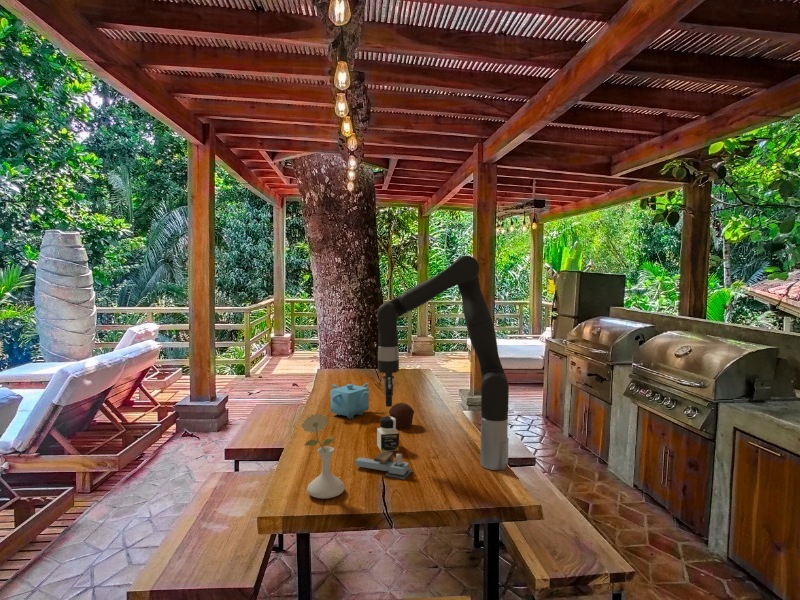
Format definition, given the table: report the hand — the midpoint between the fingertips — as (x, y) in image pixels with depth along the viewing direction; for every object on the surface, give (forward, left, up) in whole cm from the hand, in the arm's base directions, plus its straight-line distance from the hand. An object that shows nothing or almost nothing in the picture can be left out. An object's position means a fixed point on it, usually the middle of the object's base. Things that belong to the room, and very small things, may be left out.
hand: (388, 406), depth 167 cm
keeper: (-2, +8, -20) cm, 22 cm away
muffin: (+10, -37, -20) cm, 43 cm away
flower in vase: (+8, +31, -20) cm, 38 cm away
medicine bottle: (+5, -11, -20) cm, 23 cm away
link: (-1, +9, -19) cm, 21 cm away
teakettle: (+39, -44, -20) cm, 62 cm away
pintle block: (-8, +9, -20) cm, 23 cm away
